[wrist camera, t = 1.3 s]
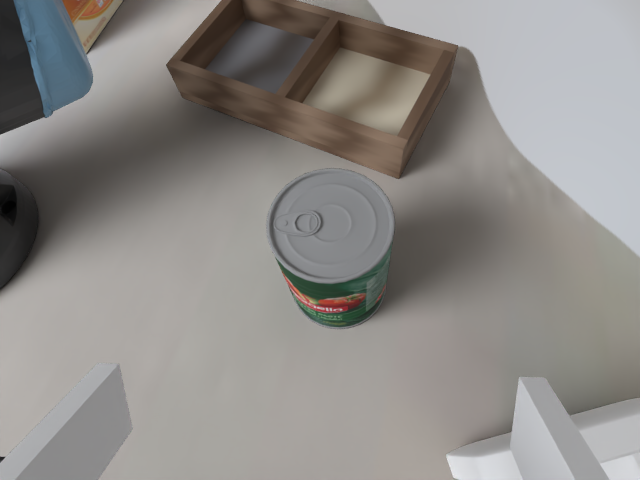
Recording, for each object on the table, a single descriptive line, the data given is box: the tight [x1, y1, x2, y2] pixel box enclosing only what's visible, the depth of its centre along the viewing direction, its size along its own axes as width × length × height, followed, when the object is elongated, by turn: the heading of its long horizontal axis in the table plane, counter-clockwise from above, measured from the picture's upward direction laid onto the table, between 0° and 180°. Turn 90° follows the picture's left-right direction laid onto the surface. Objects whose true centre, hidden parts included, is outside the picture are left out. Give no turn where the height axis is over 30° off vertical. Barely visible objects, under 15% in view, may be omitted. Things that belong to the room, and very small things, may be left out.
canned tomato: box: [266, 168, 395, 329], centre depth 31 cm, size 8×8×11 cm
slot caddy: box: [166, 0, 458, 179], centre depth 44 cm, size 25×13×4 cm, turn 63°
